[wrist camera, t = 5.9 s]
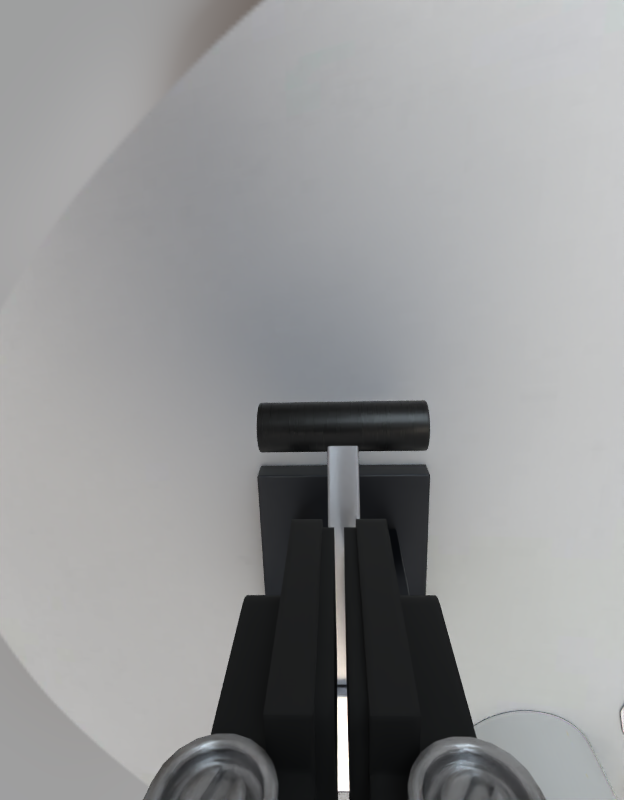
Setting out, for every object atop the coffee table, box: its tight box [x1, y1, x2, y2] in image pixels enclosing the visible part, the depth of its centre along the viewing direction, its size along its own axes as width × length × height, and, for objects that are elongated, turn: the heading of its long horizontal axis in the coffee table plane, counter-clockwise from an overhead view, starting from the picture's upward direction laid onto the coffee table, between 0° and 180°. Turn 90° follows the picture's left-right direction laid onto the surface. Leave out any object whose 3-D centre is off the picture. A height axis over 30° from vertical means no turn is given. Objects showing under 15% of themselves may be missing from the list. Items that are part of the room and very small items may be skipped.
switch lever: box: [257, 400, 430, 792], centre depth 18 cm, size 12×6×2 cm, turn 2°
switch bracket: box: [258, 465, 430, 595], centre depth 22 cm, size 10×8×12 cm
